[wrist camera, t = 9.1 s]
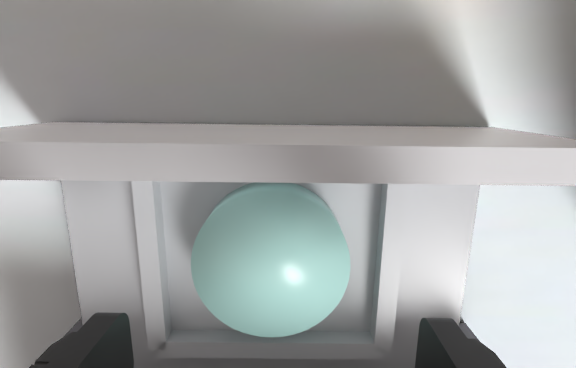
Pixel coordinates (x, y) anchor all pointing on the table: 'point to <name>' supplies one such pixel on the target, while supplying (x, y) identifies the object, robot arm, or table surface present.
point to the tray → (276, 169)
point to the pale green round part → (271, 260)
